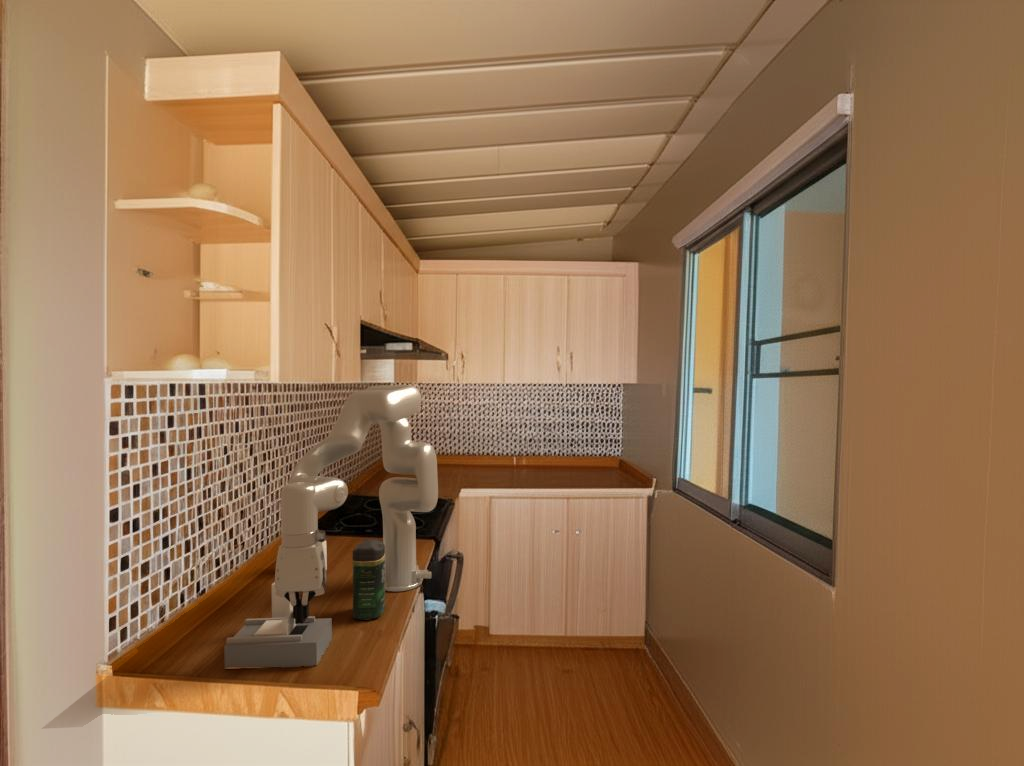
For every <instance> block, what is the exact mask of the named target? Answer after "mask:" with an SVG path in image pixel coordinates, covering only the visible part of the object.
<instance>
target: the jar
mask: <svg viewBox="0 0 1024 766" xmlns="http://www.w3.org/2000/svg"><path fill="white" fill-rule="evenodd" d="M319 532H321V533H324V539H320V540H318V542H322V546H323V550H324V557H325V565H326V571H327V570H328V564H327V563H328V560H327V559H328V558H327V557H328V554H327V552H328V551H327V548H328V547H327V540H326V531H325V530H322V529H319Z"/></svg>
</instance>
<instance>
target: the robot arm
mask: <svg viewBox="0 0 1024 766" xmlns="http://www.w3.org/2000/svg"><path fill="white" fill-rule="evenodd" d="M421 405H422V395H421V392H420V390H419V389H418V388H417V387H416V386H414V385H411V384H409V385H408V384H405V385H403V384H401V385H400V384H398V385H397V384H395V385H389V384H387V385H386V384H384V385H383V384H382V385H371V386H368V387H367V388H365V389H364V390H357V391H354V392H352V393H350V395H349V396H347V398H346V400H345V403H344V404H343V407H342V409H341V411H340V413H339V415H338V416H337V419H336V421H335V423H334V425H333V427H332V429H331V431H330V433H329V434H328V436H327V437H325V438H324V439H322V440H320V441H319V442H318V443H317V444H315V445H314V446H313V447H312V448H311V449H309V450H308V451H307V452H306V453H305V454H304V455H302V456H301V457H300V459H299V460H298V462H297V463H296V465H295V467H294V469H293V470H292V473H291V474H290V477H289V479H288V481H287V484H285V485H283V487H282V489H281V490H280V509H281V510H280V515H281V518H280V519H281V544H280V545H279V546H278V549H277V557H276V561H275V570H274V571H275V574H274V582H275V588H276V592H275V595H276V596H279V597H285V598H286V599H287V600H288V601H289V602H290V603H291V605H292V606H293V618H294V619H295V624H298V623H300V624H303V623H304V622H305V620H306V619H307V618H308V617H309V615H310V601H312V599H313V598H315V597H317V596H322V595H324V594H325V593H326V591H327V589H326V584H325V583H326V582H327V570H326V565H325V557H324V550H323V546H322V542H318V540H320V539H324V533H321V532H319V530H320V529H319V528H318V526H319V525H318V524H319V521H318V519H319V518H318V513H319V512H323V511H325V512H326V511H332V510H335V509H338V508H339V507H341V506H342V505H344V503H345V501H346V500H347V498H348V494H349V489H348V485H347V484H346V482H345V481H344V480H343V479H341V478H338V477H334V476H322V475H319V474H320V473H321V472H322V471H323V470H324V469H325V468H326V467H328V466H330V465H331V464H333V463H335V462H338V461H340V460H343V459H345V458H348V457H351V456H352V455H355V454H356V453H358V452H359V451H360V450H361V449H362V447H363V445H364V443H365V441H366V439H367V435H368V433H369V431H370V429H371V427H372V425H373V424H374V423H378V425H379V427H380V435H381V453H382V455H381V456H382V464H383V467H384V470H385V471H386V472H388V473H389V474H397V475H410V476H411V475H412V476H413V475H414V476H415V477H416V478H413V477H398V476H397V477H390V478H387V479H386V480H384V481H383V482H382V483H381V484H380V486H379V490H378V499H379V504H380V508H381V514H382V532H383V533H382V540H383V541H382V542H383V543H384V545H385V592H386V591H387V592H406V591H409V590H414V589H417V587H419V586H420V585H421V584H422V582H423V581H422V580H423V579H426V580H427V579H432V571H429V569H421V568H419V565H418V564H417V538H416V537H417V536H416V535H417V533H416V530H417V526H416V525H417V524H416V521H415V518H414V515H413V513H411V512H418V513H427V512H431V511H433V510H434V509H435V508H436V507H437V503H438V499H439V481H438V480H439V477H438V460H437V453H436V451H435V448H434V446H432V445H431V444H430V443H428V442H424V441H413V440H412V435H411V424H410V421H409V419H408V418H410V417H412V416H414V415H416V414H417V413H418V411H419V410H420V408H421ZM300 593H302V597H301V595H300Z"/></svg>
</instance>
